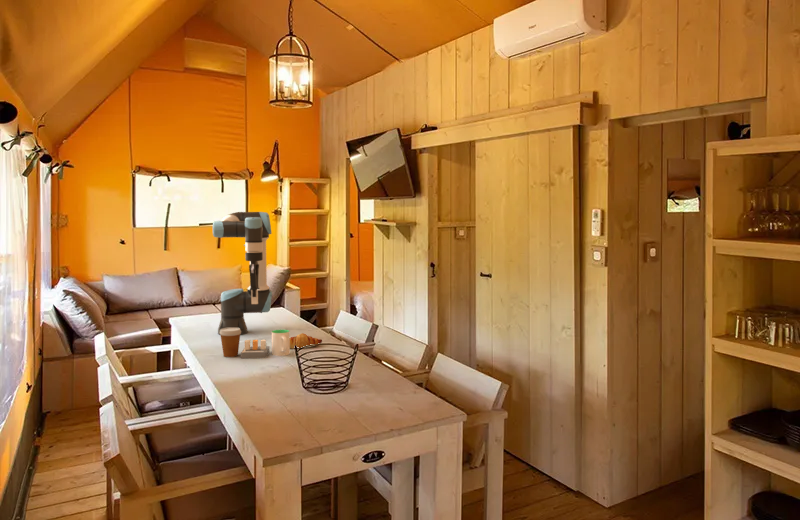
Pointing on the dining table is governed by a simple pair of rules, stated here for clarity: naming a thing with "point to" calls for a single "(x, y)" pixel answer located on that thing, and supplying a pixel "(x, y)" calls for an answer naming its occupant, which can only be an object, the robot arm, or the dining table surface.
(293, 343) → the croissant
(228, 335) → the disposable coffee cup
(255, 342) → the paddle
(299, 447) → the dining table surface
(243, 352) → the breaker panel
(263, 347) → the paddle
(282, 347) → the mug
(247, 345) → the paddle
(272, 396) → the dining table surface
